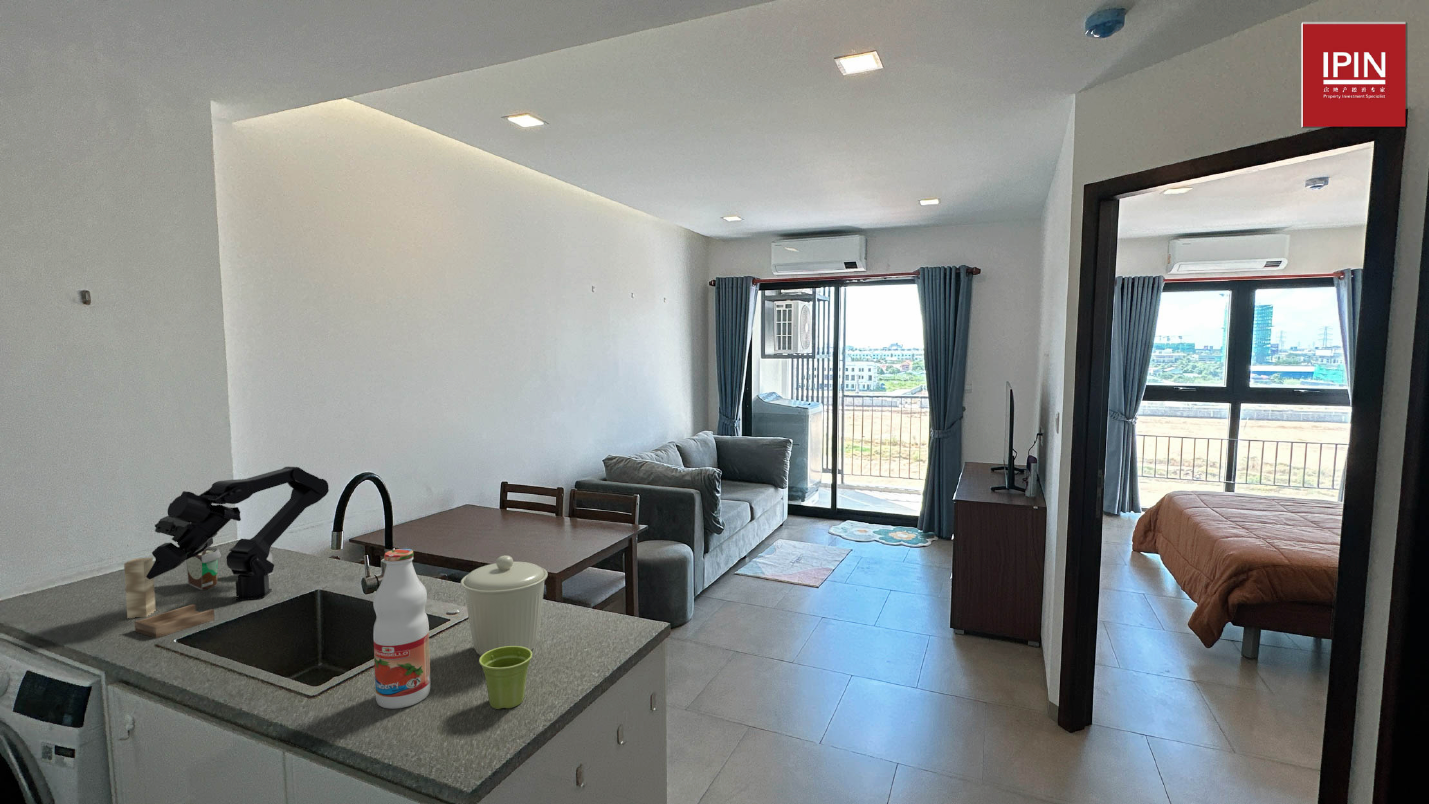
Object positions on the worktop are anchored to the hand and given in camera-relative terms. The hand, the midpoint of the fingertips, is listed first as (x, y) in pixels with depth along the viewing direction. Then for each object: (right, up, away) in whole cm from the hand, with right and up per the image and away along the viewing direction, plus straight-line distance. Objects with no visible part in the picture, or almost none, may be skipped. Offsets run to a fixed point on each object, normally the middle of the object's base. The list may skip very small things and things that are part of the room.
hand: (158, 572), depth 165 cm
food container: (-5, -10, +23) cm, 25 cm away
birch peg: (-4, -11, 0) cm, 11 cm away
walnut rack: (+10, -11, -7) cm, 17 cm away
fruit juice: (+82, -13, -41) cm, 93 cm away
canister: (+95, -12, -21) cm, 98 cm away
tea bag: (+4, -9, +31) cm, 32 cm away
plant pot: (+102, -13, -43) cm, 112 cm away
